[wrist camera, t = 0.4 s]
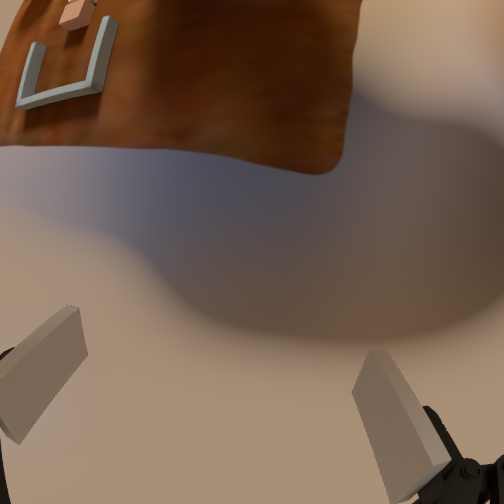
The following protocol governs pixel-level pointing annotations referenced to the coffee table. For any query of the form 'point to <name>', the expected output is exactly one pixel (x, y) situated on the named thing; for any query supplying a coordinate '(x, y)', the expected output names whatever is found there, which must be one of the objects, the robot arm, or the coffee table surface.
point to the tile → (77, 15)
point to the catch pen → (87, 87)
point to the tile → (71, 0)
